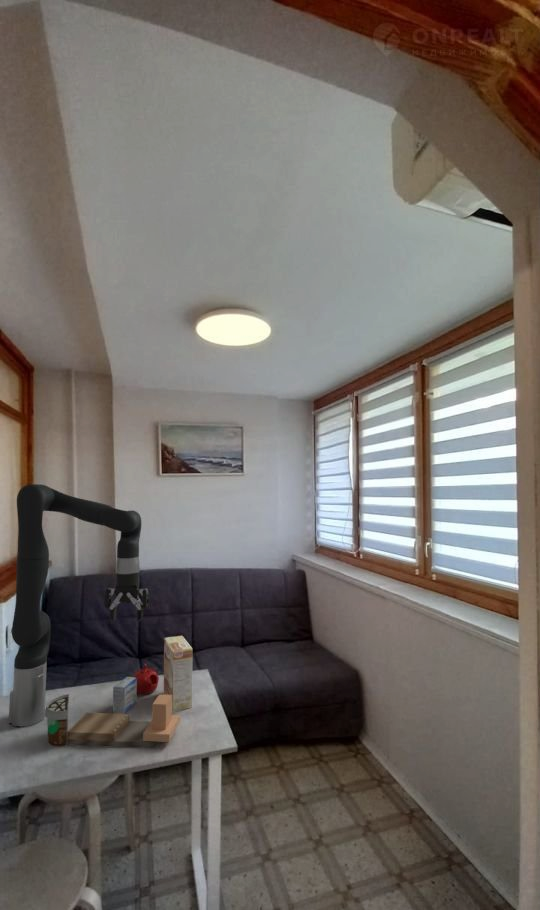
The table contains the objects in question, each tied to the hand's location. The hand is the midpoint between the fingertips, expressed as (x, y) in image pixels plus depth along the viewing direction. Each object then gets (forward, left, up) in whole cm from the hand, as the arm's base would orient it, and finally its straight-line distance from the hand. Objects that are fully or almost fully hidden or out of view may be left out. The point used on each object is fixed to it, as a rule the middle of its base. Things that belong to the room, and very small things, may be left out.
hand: (126, 620), depth 141 cm
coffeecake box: (+14, +12, -30) cm, 35 cm away
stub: (+16, -11, -28) cm, 34 cm away
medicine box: (-2, +5, -30) cm, 31 cm away
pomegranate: (0, +18, -30) cm, 35 cm away
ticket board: (+3, -11, -30) cm, 32 cm away
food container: (-15, -14, -30) cm, 37 cm away
